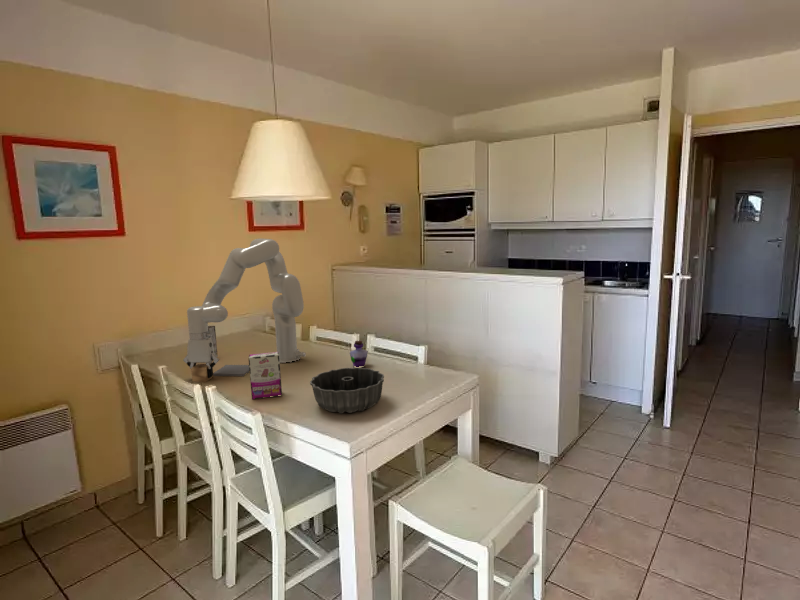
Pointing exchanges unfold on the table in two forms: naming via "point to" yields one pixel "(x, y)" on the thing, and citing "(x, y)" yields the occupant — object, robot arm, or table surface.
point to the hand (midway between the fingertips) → (202, 376)
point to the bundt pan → (347, 389)
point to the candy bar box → (265, 375)
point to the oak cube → (200, 373)
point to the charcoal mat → (232, 370)
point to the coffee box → (213, 338)
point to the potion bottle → (358, 354)
